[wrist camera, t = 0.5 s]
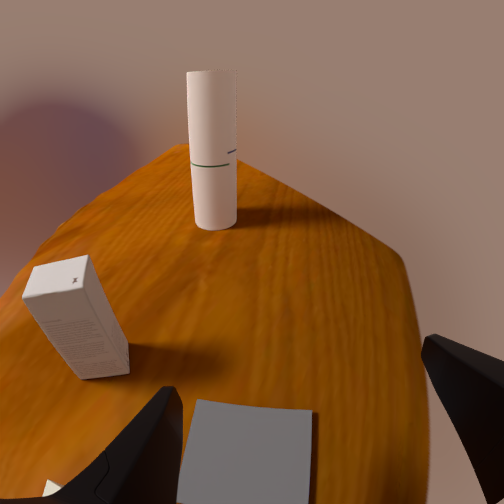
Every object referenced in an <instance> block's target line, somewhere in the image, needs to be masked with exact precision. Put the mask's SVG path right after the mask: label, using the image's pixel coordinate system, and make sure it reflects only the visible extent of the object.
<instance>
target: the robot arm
mask: <svg viewBox="0 0 504 504" xmlns="http://www.w3.org/2000/svg"><path fill="white" fill-rule="evenodd" d="M421 358H422V361H423V363H424V365H425V368H426V370H427V372H428V374H429V377H430V379H431V382H432V384H433V386H434V388H435V391H436V393H437V395H438V396H439V398H440V400H441V402H442V404H443V406H444V408H445V410H446V411H447V413H448V415H449V417H450V419H451V421H452V423H453V425H454V427H455V429H456V431H457V433H458V435H459V437H460V439H461V442H462V444H463V446H464V448H465V450H466V452H467V455H468V457H469V459H470V461H471V464H472V466H473V468H474V471H475V473H476V476H477V478H478V481H479V483H480V486H481V488H482V491H483V493H484V496H485V498H486V501H487V504H496V503H498V502H499V501H500V500H502V499H503V498H504V361H502V360H499V359H497V358H494V357H492V356H489V355H487V354H484V353H482V352H479V351H477V350H474V349H472V348H469V347H467V346H464V345H462V344H459V343H457V342H455V341H452V340H450V339H447V338H445V337H442V336H440V335H437V334H432V335H429V336H427V337H425V339H424V343H423V347H422V351H421ZM182 445H183V404H182V401H181V399H180V396H179V394H178V392H177V390H176V388H175V387H174V386H163V387H162V388H161V389H160V390H159V391H158V392H157V393H156V394H155V395H154V396H153V397H152V399H151V400H150V401H149V402H148V403H147V404H146V405H145V406H144V407H143V408H142V410H141V411H140V412H139V413H138V414H137V415H136V416H135V417H134V418H133V419H132V420H131V422H130V423H129V424H128V425H127V426H126V427H125V428H124V429H123V430H122V431H121V432H120V433H119V435H118V436H117V437H116V438H115V439H114V440H113V441H112V442H111V443H110V444H109V445H108V446H107V447H106V448H105V450H104V451H103V452H102V453H101V454H100V455H99V456H98V457H97V458H96V459H95V460H94V461H93V462H92V463H91V464H90V465H89V466H88V467H86V468H85V469H84V470H83V471H82V472H81V473H80V474H78V475H77V476H76V477H75V478H73V479H72V480H71V481H70V482H68V483H67V484H66V485H65V486H63V487H62V488H61V489H60V490H58V491H57V492H55V493H53V494H51V495H48V496H43V497H34V498H20V499H0V504H176V502H177V491H178V481H179V472H180V463H181V454H182Z"/></svg>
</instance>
